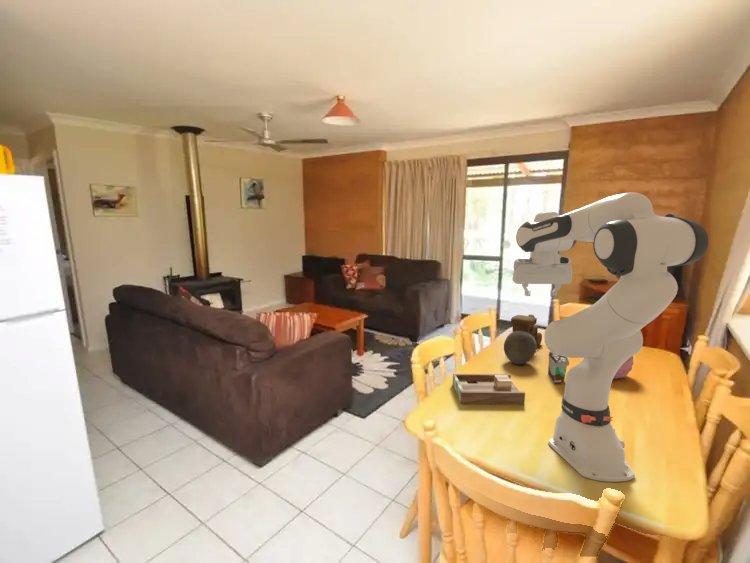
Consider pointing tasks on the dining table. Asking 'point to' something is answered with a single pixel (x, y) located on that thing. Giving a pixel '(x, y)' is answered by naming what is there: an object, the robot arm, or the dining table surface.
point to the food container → (557, 368)
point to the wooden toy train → (527, 326)
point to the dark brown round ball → (520, 347)
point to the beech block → (502, 382)
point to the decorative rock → (624, 368)
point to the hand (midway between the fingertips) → (540, 295)
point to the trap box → (484, 390)
